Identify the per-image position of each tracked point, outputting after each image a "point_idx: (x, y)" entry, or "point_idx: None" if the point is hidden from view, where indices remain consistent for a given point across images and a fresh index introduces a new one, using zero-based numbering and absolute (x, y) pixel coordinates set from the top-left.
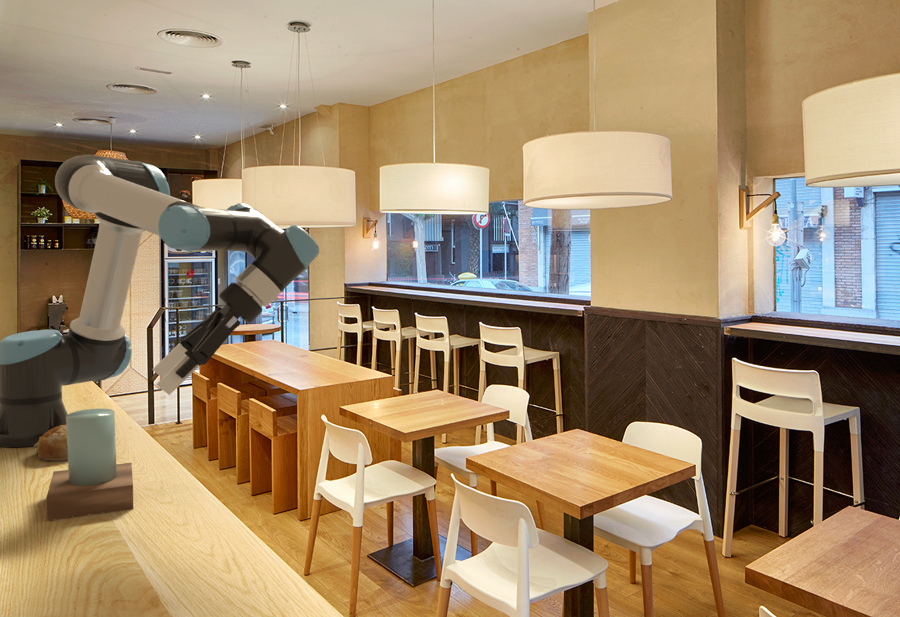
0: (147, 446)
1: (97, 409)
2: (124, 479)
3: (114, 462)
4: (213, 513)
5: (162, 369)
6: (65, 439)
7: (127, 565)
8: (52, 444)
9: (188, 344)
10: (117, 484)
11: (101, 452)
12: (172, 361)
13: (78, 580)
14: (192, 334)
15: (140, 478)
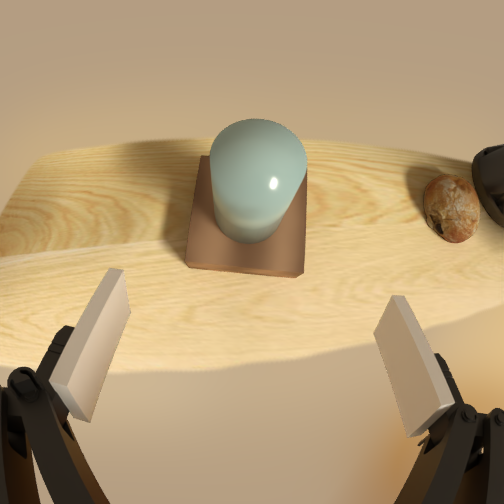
0: (448, 314)
1: (296, 172)
2: (217, 252)
3: (233, 232)
4: (119, 360)
5: (389, 328)
6: (443, 198)
7: (43, 241)
8: (437, 185)
9: (442, 438)
10: (198, 240)
11: (214, 201)
12: (401, 365)
13: (43, 200)
14: (431, 479)
15: (316, 292)
